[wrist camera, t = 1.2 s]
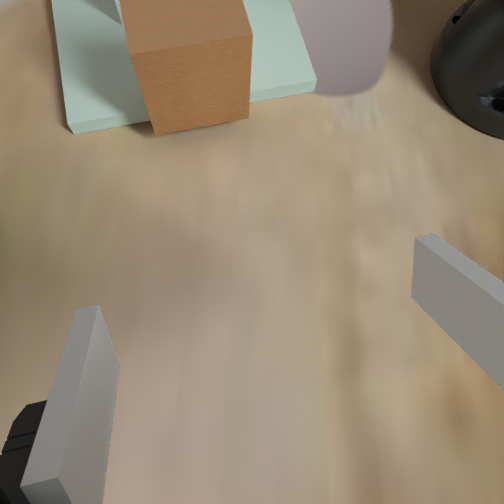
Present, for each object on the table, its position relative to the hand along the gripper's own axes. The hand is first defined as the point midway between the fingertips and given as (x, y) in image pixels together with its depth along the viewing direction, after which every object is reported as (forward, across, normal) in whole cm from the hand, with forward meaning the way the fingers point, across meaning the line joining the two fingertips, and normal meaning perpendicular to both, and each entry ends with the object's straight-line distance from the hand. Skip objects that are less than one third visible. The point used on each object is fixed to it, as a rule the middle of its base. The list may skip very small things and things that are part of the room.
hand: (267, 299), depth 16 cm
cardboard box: (+28, 0, +7) cm, 29 cm away
